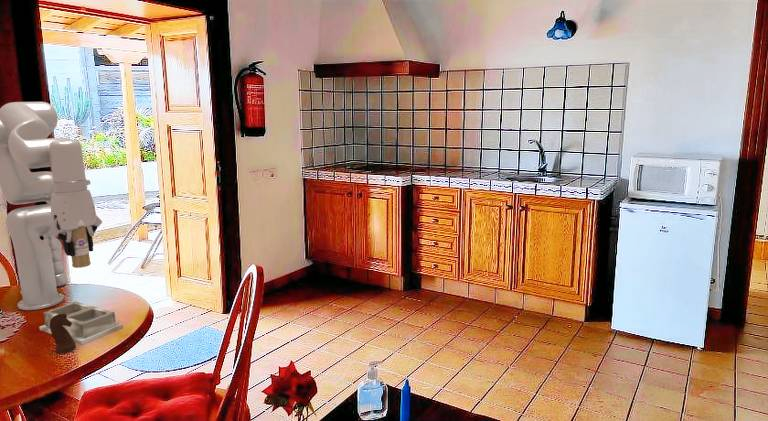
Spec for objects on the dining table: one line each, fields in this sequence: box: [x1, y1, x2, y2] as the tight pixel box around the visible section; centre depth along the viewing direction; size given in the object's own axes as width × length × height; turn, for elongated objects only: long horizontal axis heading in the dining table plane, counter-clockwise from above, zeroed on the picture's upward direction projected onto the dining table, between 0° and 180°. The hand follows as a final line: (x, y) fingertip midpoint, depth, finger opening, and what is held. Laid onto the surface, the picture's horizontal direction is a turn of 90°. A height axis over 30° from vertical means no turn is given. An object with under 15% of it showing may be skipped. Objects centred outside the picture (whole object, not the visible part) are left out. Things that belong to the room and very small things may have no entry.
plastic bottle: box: [42, 234, 68, 287], centre depth 188 cm, size 6×7×20 cm
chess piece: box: [50, 313, 77, 355], centre depth 140 cm, size 5×5×10 cm
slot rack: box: [38, 301, 123, 345], centre depth 154 cm, size 20×12×5 cm, turn 61°
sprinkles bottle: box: [71, 220, 91, 269], centre depth 147 cm, size 5×5×14 cm
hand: (79, 252), depth 147 cm, fingers closed on sprinkles bottle, 4 cm apart
